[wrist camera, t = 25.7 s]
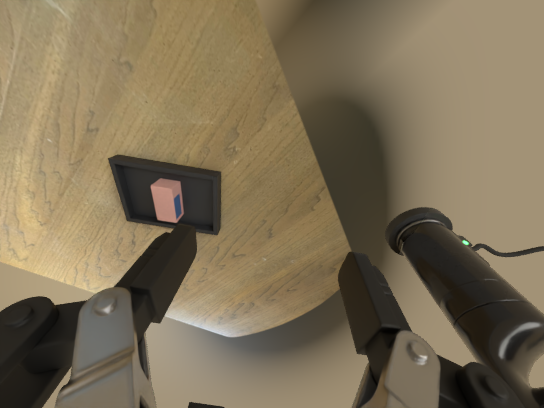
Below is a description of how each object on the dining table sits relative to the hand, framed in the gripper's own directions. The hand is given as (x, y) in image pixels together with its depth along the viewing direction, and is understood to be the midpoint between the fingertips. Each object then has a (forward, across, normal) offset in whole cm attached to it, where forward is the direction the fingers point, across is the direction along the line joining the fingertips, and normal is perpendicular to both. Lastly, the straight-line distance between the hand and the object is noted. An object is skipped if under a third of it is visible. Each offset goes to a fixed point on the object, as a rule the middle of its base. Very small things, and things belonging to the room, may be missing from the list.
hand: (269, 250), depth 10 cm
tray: (+23, +18, +13) cm, 32 cm away
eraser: (+22, +18, +13) cm, 32 cm away
